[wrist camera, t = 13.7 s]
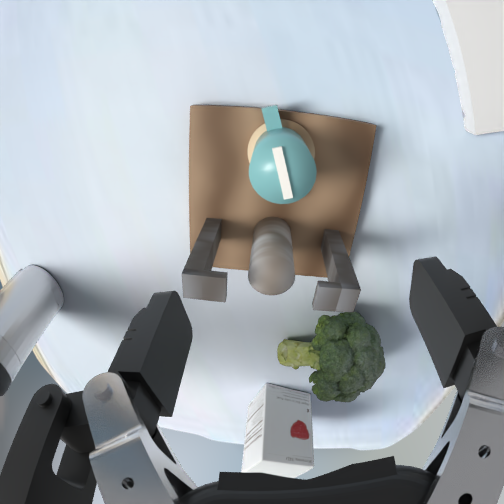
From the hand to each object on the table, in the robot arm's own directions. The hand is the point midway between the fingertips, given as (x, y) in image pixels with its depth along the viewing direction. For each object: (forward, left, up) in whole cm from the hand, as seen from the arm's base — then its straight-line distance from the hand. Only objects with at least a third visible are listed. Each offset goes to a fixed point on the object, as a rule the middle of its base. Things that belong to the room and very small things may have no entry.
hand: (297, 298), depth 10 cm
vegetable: (+10, -24, -24) cm, 35 cm away
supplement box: (+5, -43, -24) cm, 49 cm away
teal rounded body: (0, 0, -21) cm, 21 cm away
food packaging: (+24, +18, -24) cm, 38 cm away
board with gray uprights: (0, -5, -23) cm, 24 cm away
